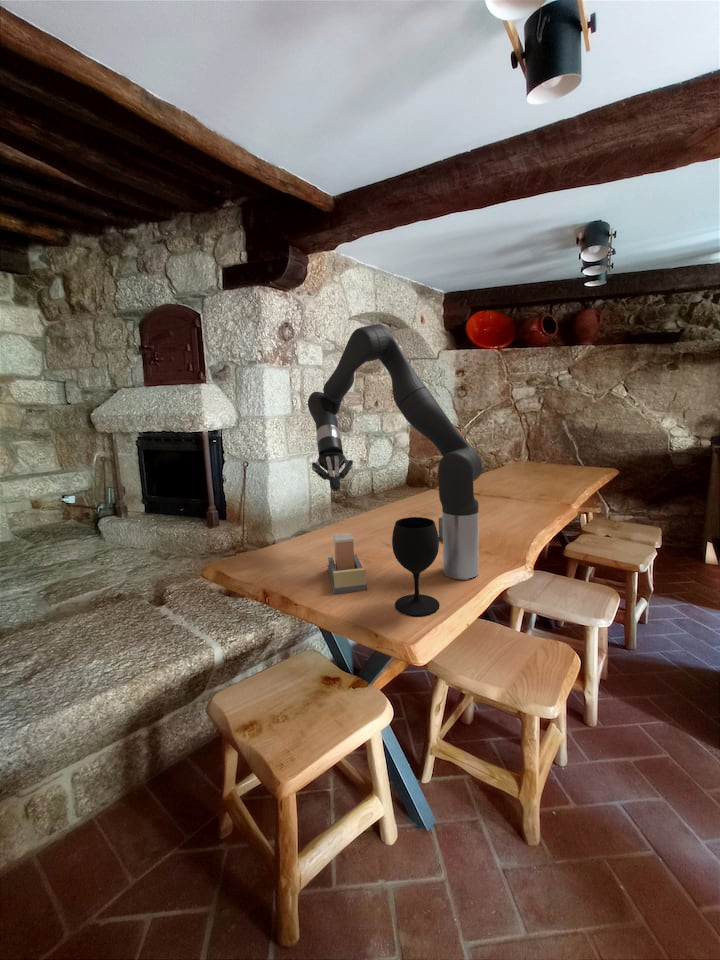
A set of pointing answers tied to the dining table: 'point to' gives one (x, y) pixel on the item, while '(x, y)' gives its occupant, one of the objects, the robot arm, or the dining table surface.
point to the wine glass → (416, 560)
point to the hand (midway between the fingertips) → (335, 489)
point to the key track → (347, 577)
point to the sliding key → (344, 551)
